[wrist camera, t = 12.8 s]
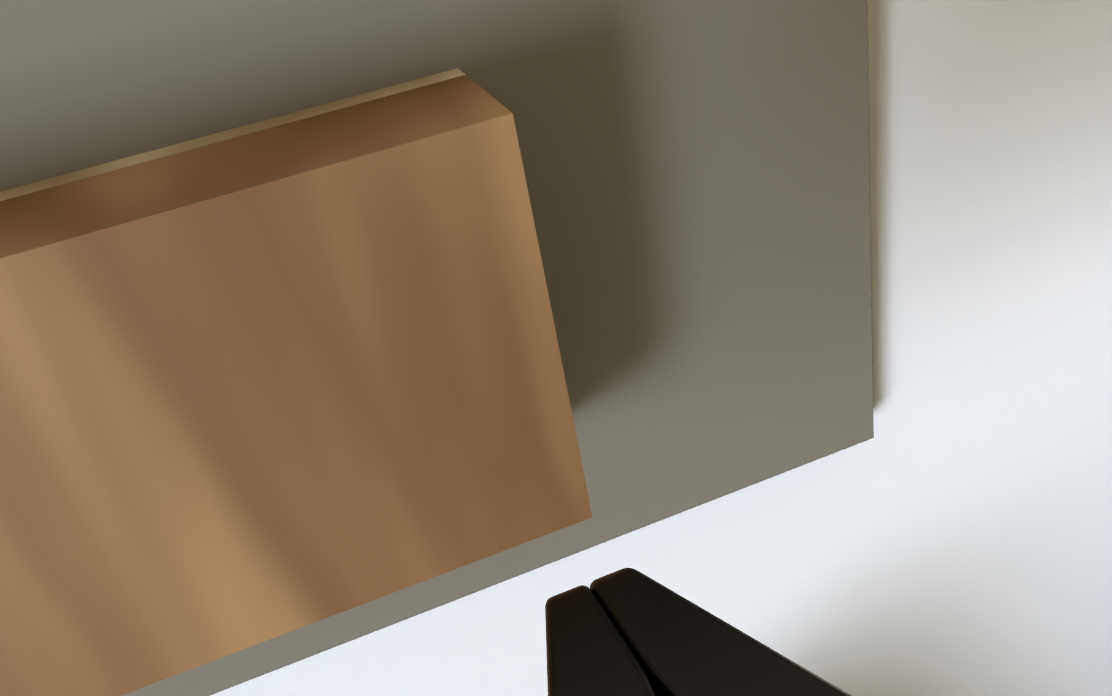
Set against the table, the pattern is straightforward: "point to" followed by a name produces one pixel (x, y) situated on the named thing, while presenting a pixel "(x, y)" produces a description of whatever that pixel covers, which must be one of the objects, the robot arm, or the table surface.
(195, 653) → the slab
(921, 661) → the table surface
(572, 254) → the mat
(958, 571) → the table surface
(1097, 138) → the table surface
